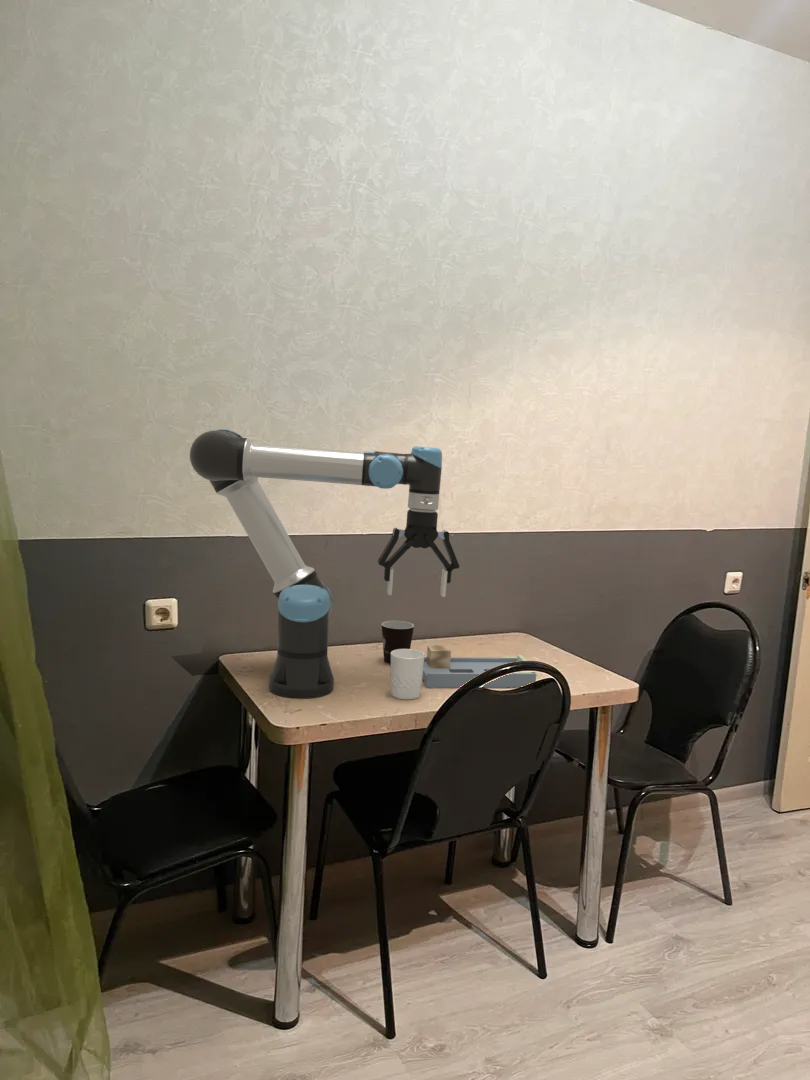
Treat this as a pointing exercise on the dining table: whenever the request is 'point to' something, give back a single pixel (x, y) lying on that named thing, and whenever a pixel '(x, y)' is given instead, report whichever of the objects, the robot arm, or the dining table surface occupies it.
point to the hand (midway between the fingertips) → (416, 595)
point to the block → (438, 656)
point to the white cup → (406, 673)
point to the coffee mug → (396, 637)
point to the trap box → (474, 672)
